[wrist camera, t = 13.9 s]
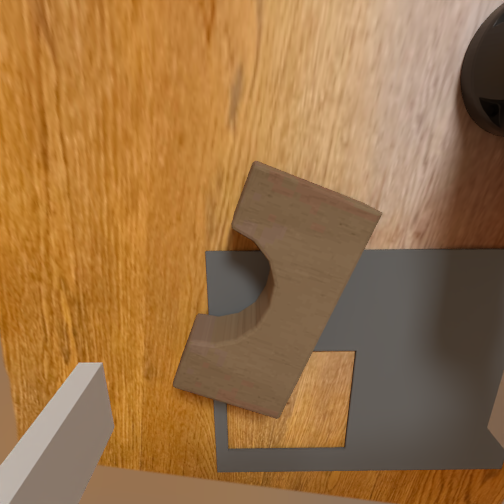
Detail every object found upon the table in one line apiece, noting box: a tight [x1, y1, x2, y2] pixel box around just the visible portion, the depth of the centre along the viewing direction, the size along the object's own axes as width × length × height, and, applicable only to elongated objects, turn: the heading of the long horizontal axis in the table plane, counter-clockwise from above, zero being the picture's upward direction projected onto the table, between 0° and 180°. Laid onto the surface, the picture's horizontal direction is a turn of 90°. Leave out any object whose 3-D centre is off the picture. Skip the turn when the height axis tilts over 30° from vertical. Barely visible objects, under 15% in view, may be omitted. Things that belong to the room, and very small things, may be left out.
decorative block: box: [173, 161, 382, 419], centre depth 43 cm, size 15×8×30 cm
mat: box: [205, 249, 504, 472], centre depth 53 cm, size 50×41×1 cm
